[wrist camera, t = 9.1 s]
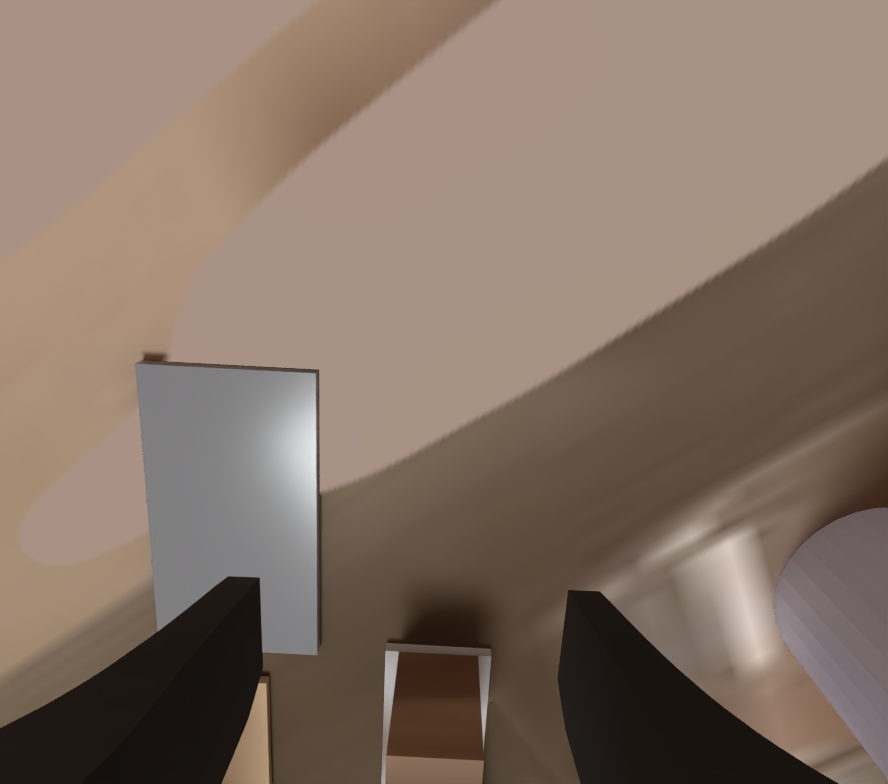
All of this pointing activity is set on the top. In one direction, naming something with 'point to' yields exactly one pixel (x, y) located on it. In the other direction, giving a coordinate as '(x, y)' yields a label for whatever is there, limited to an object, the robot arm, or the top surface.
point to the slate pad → (234, 490)
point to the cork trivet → (254, 743)
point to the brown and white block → (434, 714)
